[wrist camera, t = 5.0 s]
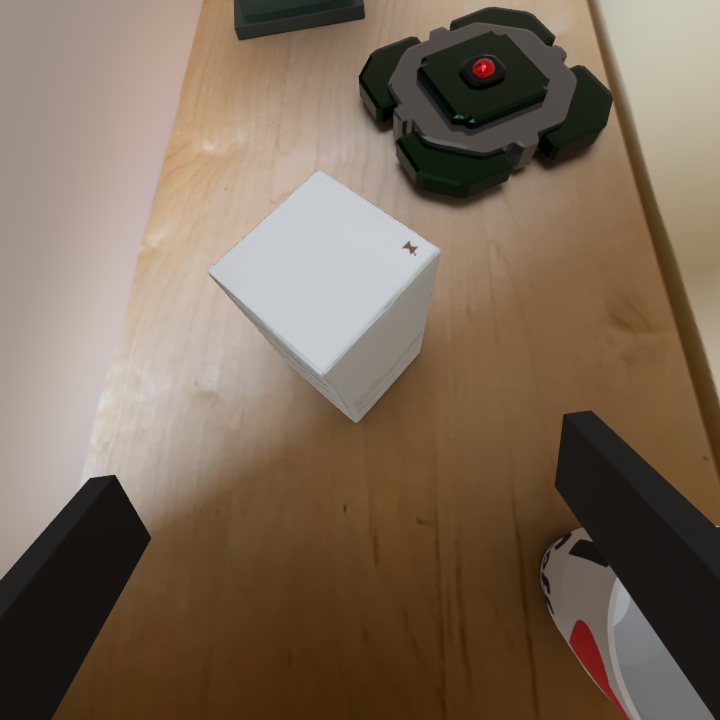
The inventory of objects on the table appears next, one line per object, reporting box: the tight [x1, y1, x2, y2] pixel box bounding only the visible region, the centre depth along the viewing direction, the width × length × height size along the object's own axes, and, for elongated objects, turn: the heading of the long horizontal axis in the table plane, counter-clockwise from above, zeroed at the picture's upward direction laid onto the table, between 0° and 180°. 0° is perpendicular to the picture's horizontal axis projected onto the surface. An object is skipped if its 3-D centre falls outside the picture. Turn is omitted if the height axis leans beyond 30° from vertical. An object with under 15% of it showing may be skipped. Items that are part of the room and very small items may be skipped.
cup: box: [540, 526, 720, 720], centre depth 17 cm, size 8×8×10 cm
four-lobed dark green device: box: [359, 7, 613, 198], centre depth 32 cm, size 18×18×5 cm
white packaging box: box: [208, 170, 441, 423], centre depth 21 cm, size 7×7×13 cm
